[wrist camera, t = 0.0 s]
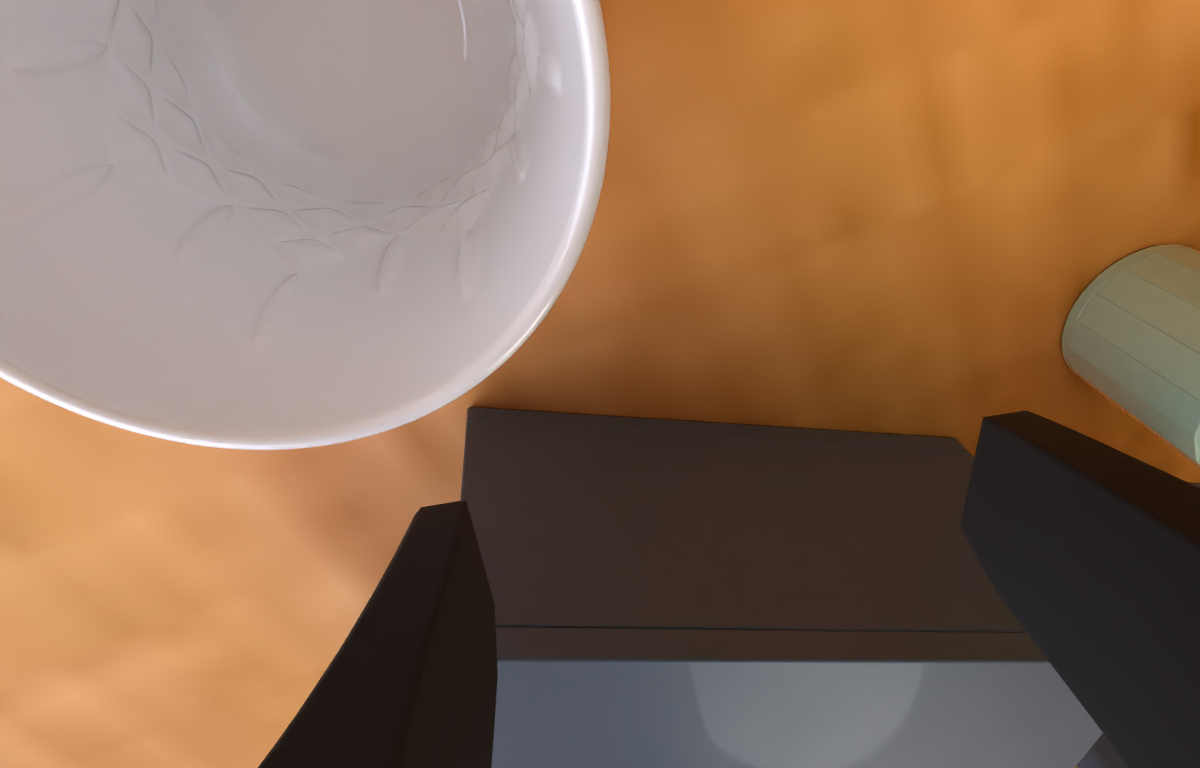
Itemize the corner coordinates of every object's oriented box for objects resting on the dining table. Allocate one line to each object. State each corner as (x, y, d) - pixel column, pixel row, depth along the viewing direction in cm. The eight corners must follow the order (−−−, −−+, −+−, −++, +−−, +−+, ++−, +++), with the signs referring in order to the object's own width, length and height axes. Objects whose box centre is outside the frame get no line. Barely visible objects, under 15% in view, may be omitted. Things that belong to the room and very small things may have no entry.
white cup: (493, -266, 13) (475, -658, 5) (587, 159, 17) (670, 365, 9) (79, -158, 13) (-679, -346, 5) (272, 239, 17) (53, 517, 9)
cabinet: (956, 436, 23) (1163, 661, 16) (834, 686, 30) (942, 929, 22) (467, 406, 20) (448, 659, 13) (448, 688, 27) (427, 966, 19)
